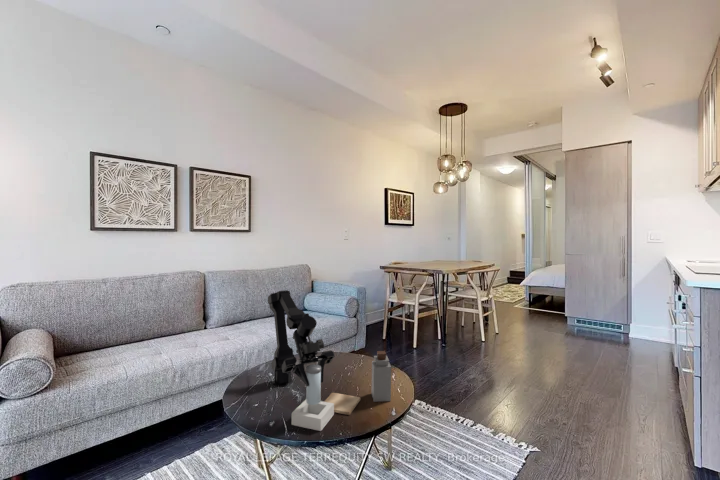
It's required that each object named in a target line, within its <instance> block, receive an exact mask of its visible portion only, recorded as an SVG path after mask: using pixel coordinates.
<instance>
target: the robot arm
mask: <svg viewBox="0 0 720 480" xmlns="http://www.w3.org/2000/svg"><path fill="white" fill-rule="evenodd" d="M269 294H270V295H268V297H267V303H268V305H269V309H270V310H271V312H272V313H273V316H274V327H275V336H276V337H275V338H276V349H275V351H274V354H273V359H272V361H271V369H272V370H273V372H274V376H273V377H274V380H273V382H272V383H271V384H272V385H275V386H276V385H277V386H281V387H286V386H287V385H289V384H291V382H293V378H292V374H295V375H296V376H297V377H298V378H299V379H300V380H301V381H302V383H304V385H305V387H306V386H309V383H308V379H307V372H306V369H305V365H310V364H312V363H316V365H320V366H321V384H323V383H324V368H325V365H329V364H330V363H331V362H332V361H333V359H334V358H335V352H334V351H333V350H325V351H322V352H321V350H322V349H324V348H325V342H324V340H323V338H321V339H320V338H319V339H317V340H315V341H314V342H313V340H311V336H312V334H313V332H314V331H315V328H316V326H317V320H316V319H315V318H314V317H313V316H312V315H310V314H309V313H305V312H304V311H303V310H302V309H300V308H298V306H297V305H296V303H295V301H294V299H293V297H292V296H291V292H290V290H288V289H287V290H285V289H284V290H279V291H277V292H272V293H269ZM287 327H288V329H289V330H294V331H293V334H292V339H293V340H294V344H295V348H296V350H295V351H296V354H297V355H298V359H297V357H296V356H295V355H294V349H293V348H292V347H290V346H289V340H288V333H287ZM319 352H321V355H318V354H319ZM316 355H317V356H316Z"/></svg>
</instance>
